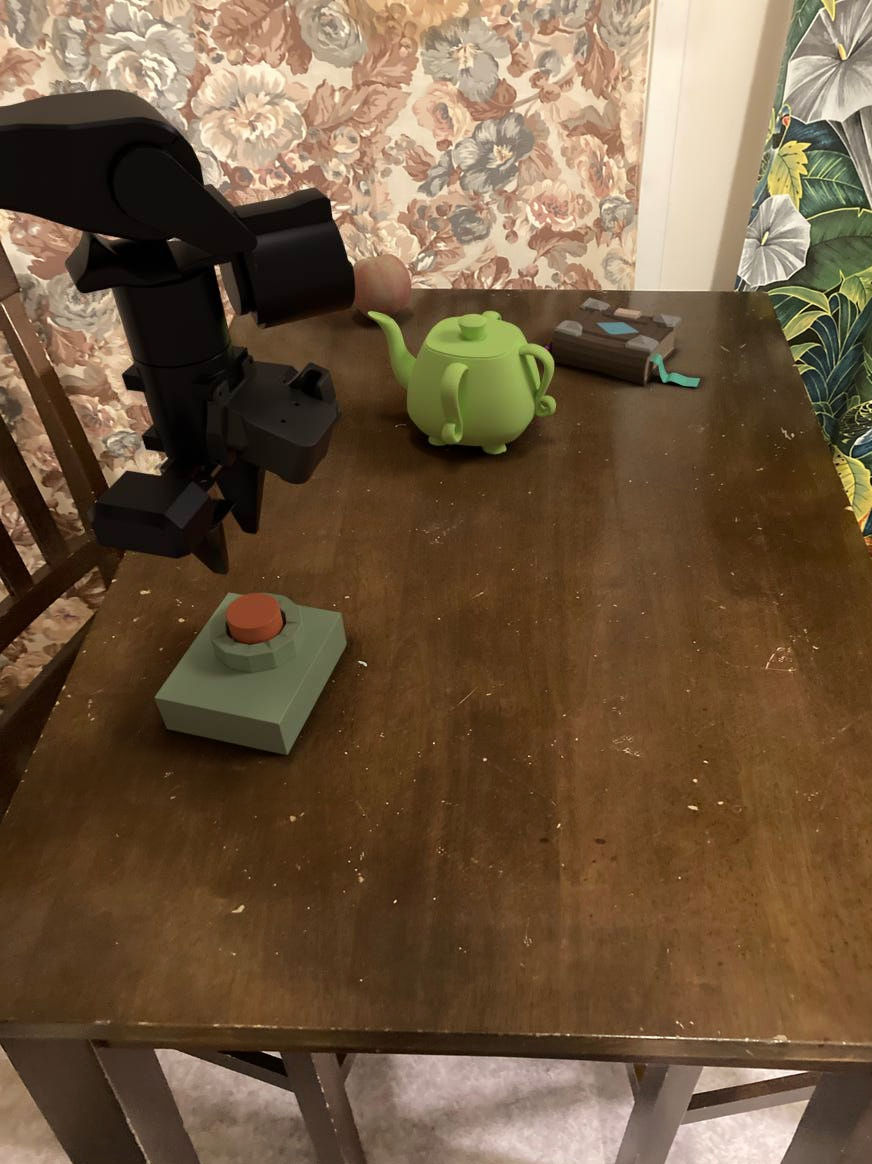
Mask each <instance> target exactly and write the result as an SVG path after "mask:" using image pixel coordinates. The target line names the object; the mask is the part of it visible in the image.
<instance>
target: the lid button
mask: <svg viewBox="0 0 872 1164" xmlns="http://www.w3.org/2000/svg"><path fill="white" fill-rule="evenodd" d="M264 593H265V592H252V593H247V594H242V595H243V596H241V597H239V598H237V599H235V600H234V601H233V602H232V603H231V604H230V605H229V606H228V608H227V610H226V619H227V623H228V626H229V629H230V633H231V635H232V637H233V638H234V639H235V640H236V641H238V642H240V643H243V644H248V645H253V644H258V643H263V642H267V641H269V640H271V639H272V638H274V637H275V636H277V635H278V634H279V632H280V631H281V629H282V626H283V620H282V616H281V612H280V607H279V604H278V602H277V600H276V599H275V598H274V597H272V596H270V595H268V594H264Z"/></svg>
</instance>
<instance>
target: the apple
mask: <svg viewBox="0 0 872 1164" xmlns="http://www.w3.org/2000/svg"><path fill="white" fill-rule="evenodd" d="M352 265H353V269H354V276H355V299H354V303H353V304H354V305H355V306H356V308H357V309H358V311H360V313H361V314H362V315H364V316H365V317H366V318H368V319H370V320H372V321H375V320H374V319H372V318H371V317H370V316H369V315H368V312H370V311H373V312H378V313H382V314H384V315H387V316H389V317H390V318H391V317H392V316H394V315H395V314H396V313H398V312H400V311H402V310H403V309H404V308H405V307H407V305H408V304H409V302H410V300H411V297H412V279H411V276H410V272H409V270H408V268H407V266H406V265H405V263H404V262H403V261H402V259H400V258H399V257H398V256H397V255H394V254H392V253H385V254H382V255H377V256H376V255H375V256H369V257H365V258H362V259H359V260H357V261H356V262H354V264H352Z"/></svg>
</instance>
